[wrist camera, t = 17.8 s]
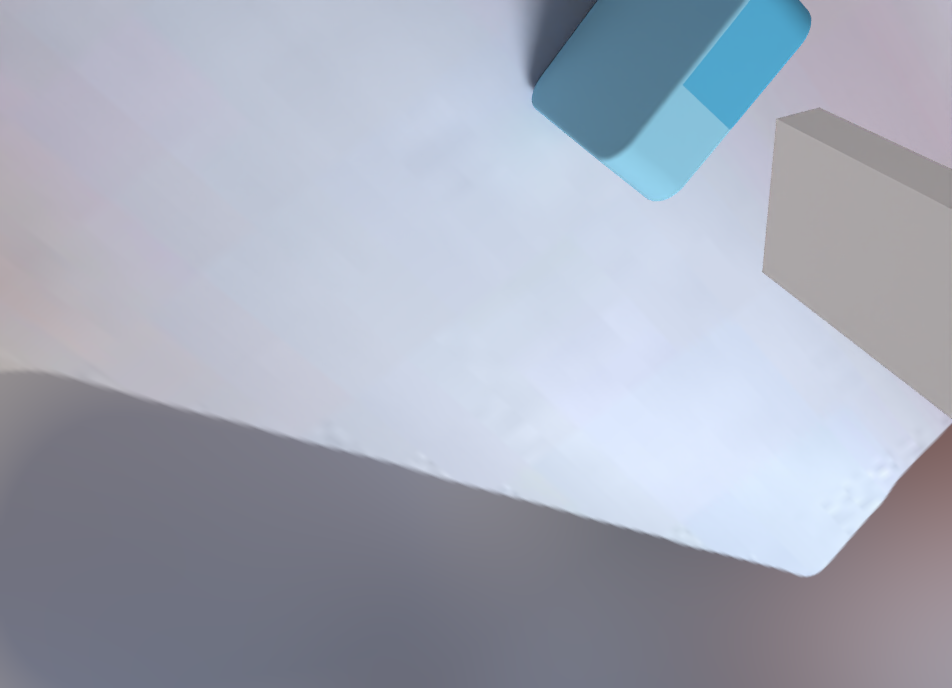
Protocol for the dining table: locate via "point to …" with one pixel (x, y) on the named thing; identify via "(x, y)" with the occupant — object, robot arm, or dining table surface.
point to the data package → (665, 81)
